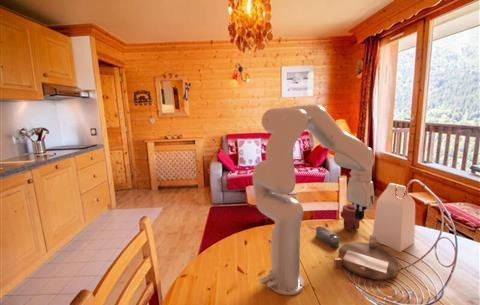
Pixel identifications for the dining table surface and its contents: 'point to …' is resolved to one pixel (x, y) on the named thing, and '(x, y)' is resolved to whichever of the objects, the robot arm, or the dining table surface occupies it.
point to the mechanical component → (350, 218)
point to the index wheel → (368, 259)
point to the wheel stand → (337, 263)
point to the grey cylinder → (327, 237)
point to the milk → (395, 218)
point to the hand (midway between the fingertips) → (359, 218)
